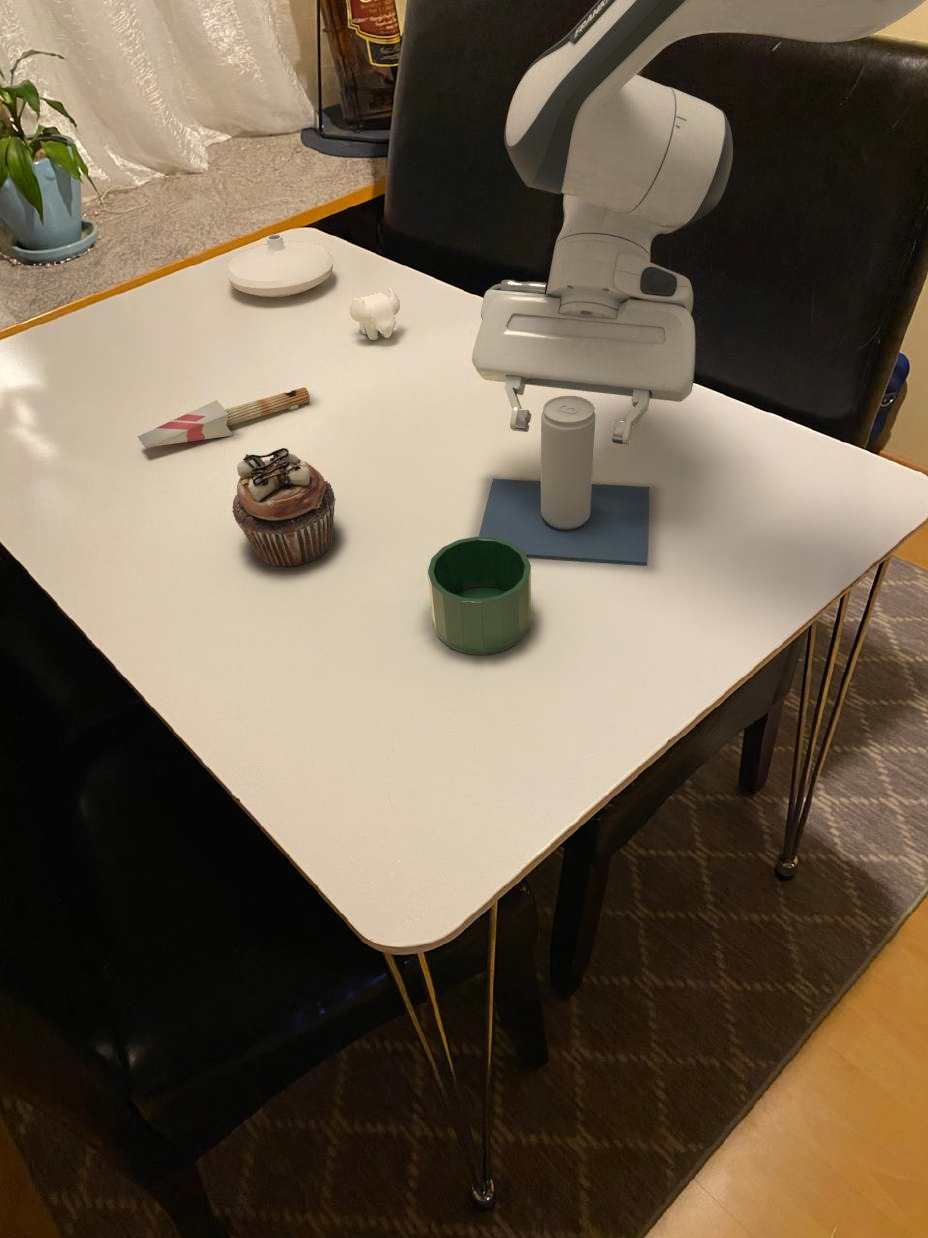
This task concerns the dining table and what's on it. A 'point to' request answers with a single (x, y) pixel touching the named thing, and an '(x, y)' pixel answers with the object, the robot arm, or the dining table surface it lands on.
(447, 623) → the green round pot
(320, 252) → the vase
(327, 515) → the cupcake
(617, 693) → the dining table surface
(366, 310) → the elephant figurine
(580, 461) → the beverage can
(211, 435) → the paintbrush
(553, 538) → the mat
